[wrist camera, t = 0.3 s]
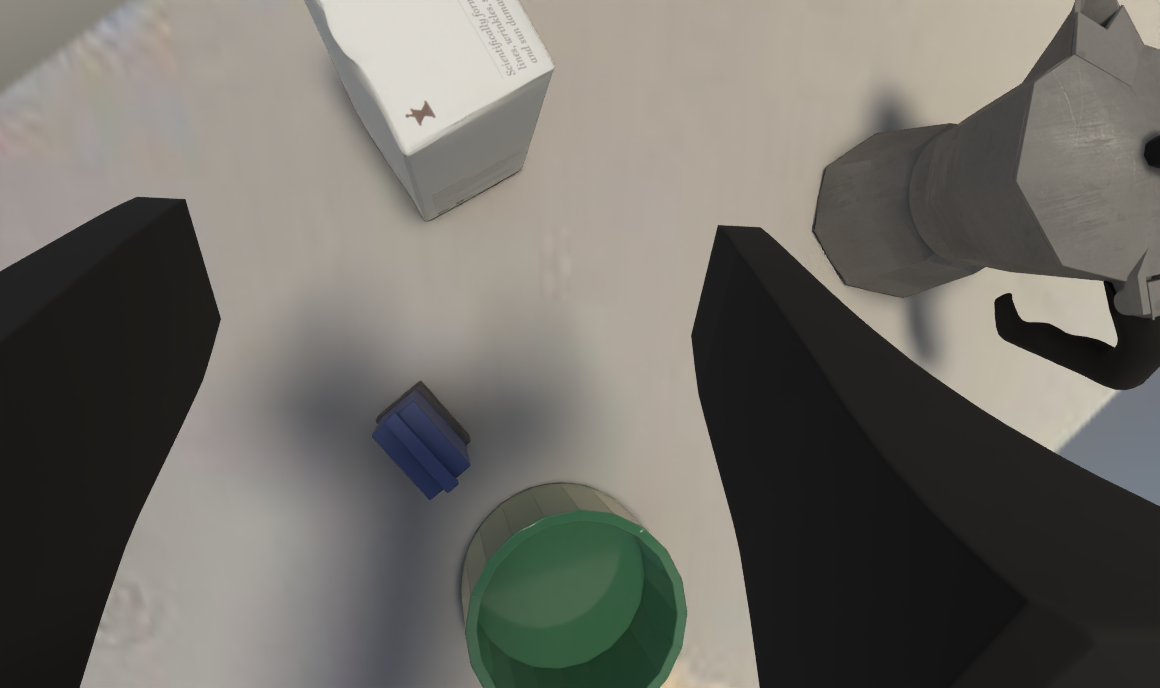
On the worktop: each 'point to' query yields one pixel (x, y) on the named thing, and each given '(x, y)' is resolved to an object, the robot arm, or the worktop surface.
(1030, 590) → the robot arm
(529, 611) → the cup
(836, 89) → the worktop surface
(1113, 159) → the coffeepot
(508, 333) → the worktop surface
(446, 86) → the cosmetic box
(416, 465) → the blue block
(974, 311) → the worktop surface
